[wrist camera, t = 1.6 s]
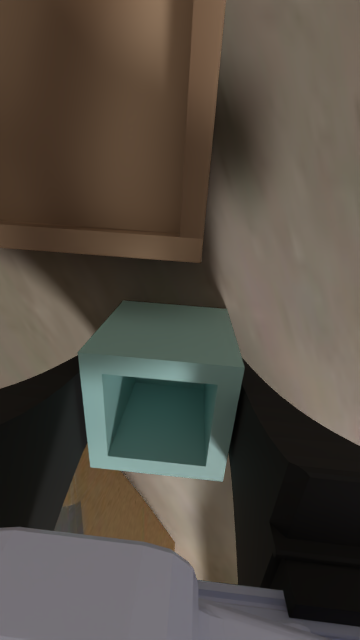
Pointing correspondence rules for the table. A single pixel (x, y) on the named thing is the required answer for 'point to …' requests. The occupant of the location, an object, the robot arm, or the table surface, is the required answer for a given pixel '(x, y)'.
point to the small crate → (161, 390)
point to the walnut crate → (107, 125)
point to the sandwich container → (108, 507)
